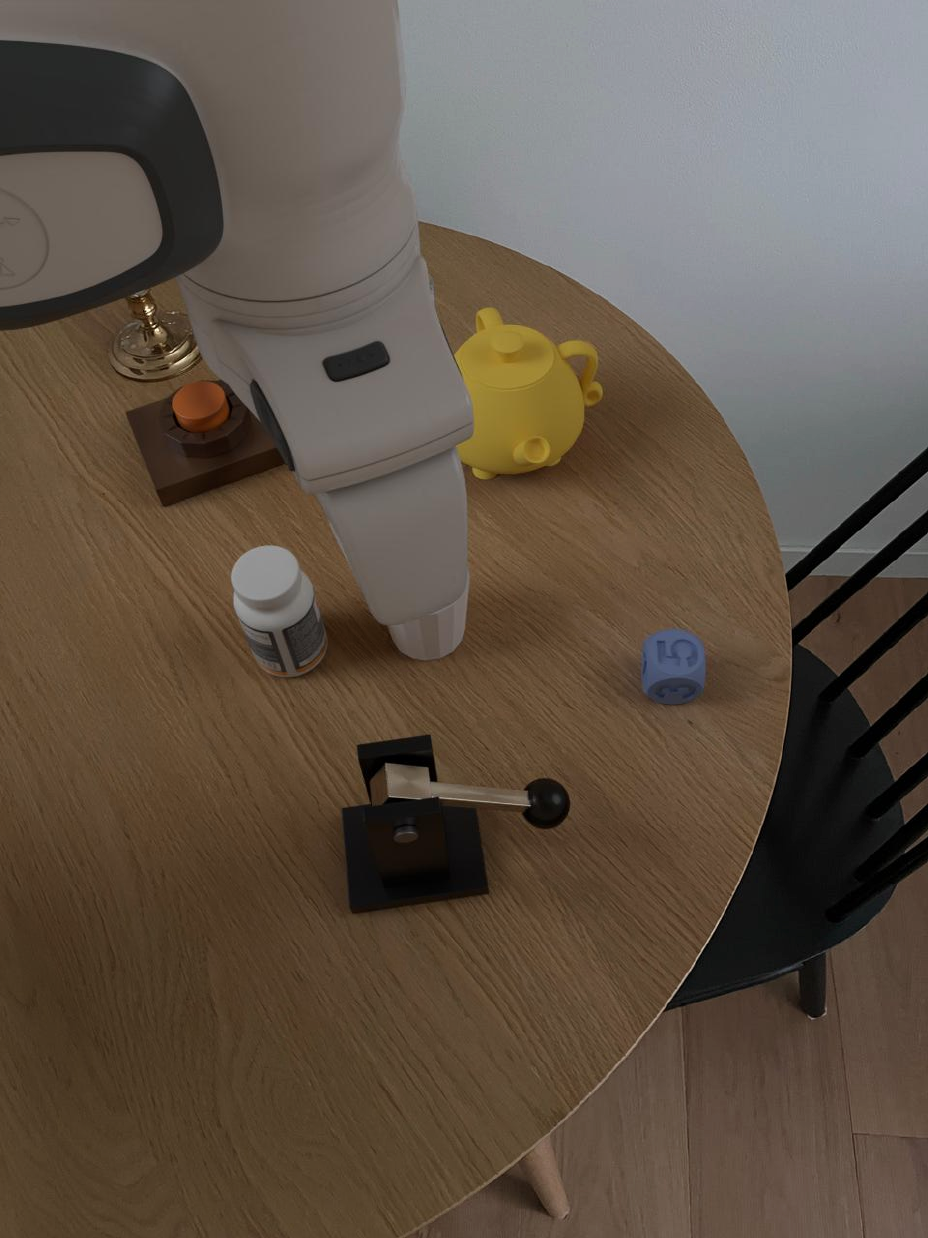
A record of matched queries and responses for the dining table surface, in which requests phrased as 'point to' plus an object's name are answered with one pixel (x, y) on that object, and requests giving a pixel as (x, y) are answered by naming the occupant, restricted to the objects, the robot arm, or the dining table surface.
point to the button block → (200, 448)
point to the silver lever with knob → (473, 794)
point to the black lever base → (409, 840)
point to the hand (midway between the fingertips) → (351, 522)
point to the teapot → (522, 396)
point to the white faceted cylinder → (433, 631)
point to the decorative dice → (673, 666)
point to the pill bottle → (278, 611)
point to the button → (201, 407)
